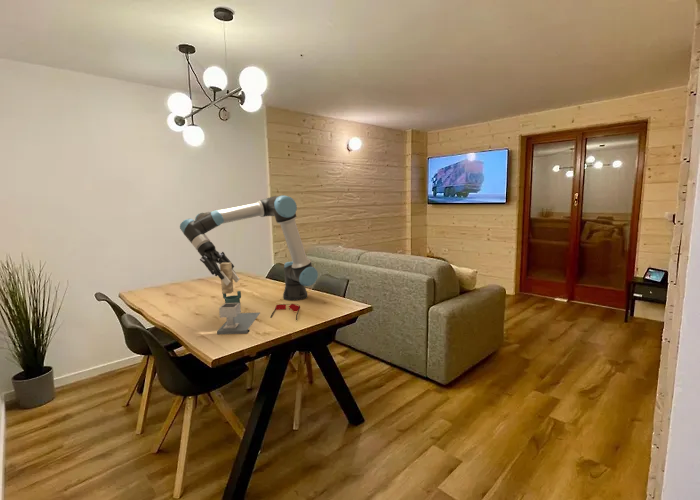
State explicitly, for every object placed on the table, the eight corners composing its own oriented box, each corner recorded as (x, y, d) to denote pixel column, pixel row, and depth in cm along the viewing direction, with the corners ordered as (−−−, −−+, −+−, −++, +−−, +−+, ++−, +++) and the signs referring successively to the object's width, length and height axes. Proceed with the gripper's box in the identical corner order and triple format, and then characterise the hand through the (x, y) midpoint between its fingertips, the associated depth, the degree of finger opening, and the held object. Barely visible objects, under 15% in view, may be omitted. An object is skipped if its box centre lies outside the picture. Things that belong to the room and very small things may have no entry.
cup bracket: (241, 323, 175) (240, 302, 173) (237, 329, 167) (235, 307, 166) (226, 324, 175) (224, 303, 173) (220, 329, 167) (218, 307, 166)
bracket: (242, 306, 210) (241, 291, 209) (226, 308, 205) (224, 293, 204) (238, 302, 217) (237, 288, 216) (223, 305, 213) (221, 290, 212)
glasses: (300, 311, 197) (300, 302, 196) (297, 321, 181) (296, 312, 180) (275, 312, 197) (274, 303, 196) (269, 322, 181) (268, 313, 180)
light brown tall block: (233, 291, 171) (231, 262, 169) (230, 293, 167) (228, 263, 165) (225, 291, 171) (222, 262, 169) (222, 293, 167) (219, 264, 165)
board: (260, 315, 192) (260, 312, 192) (247, 333, 166) (247, 330, 166) (234, 316, 192) (234, 313, 191) (217, 334, 166) (216, 331, 166)
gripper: (214, 248, 180) (242, 282, 176) (184, 254, 164) (214, 292, 159) (222, 238, 177) (250, 272, 173) (192, 243, 161) (222, 281, 157)
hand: (233, 282), depth 166 cm, fingers closed on light brown tall block, 5 cm apart
